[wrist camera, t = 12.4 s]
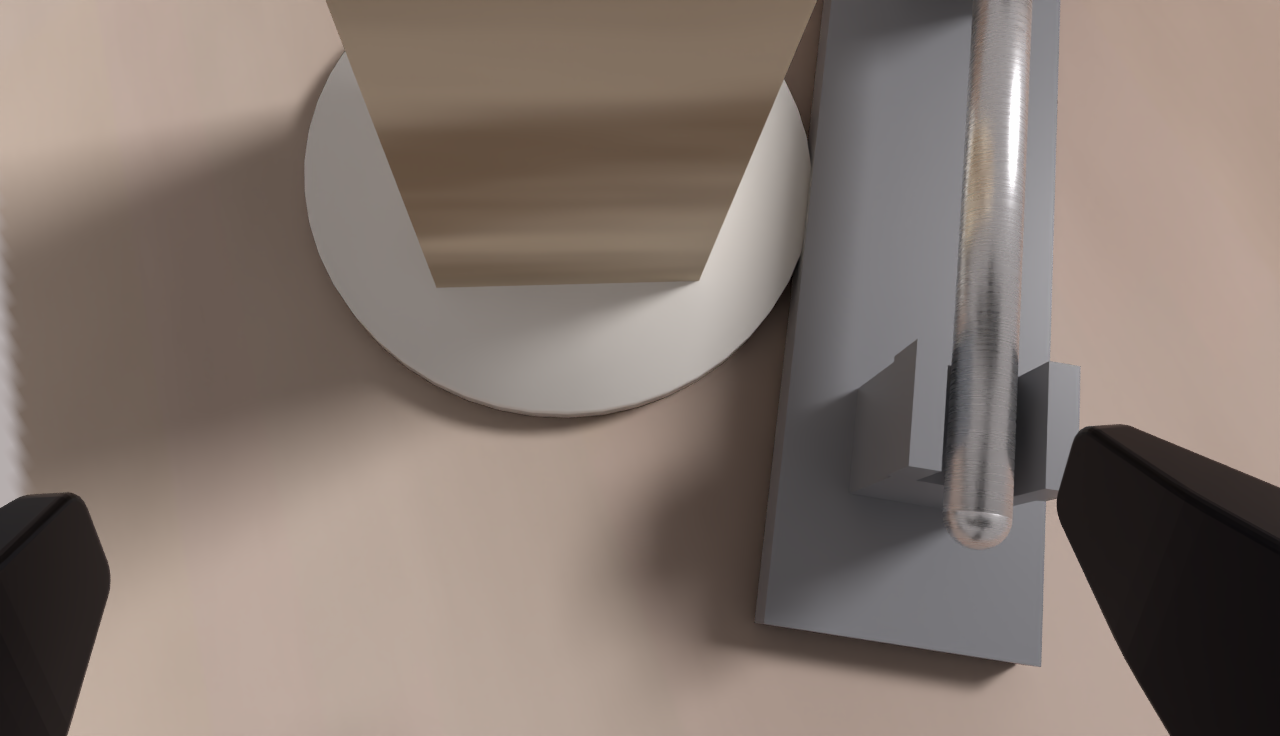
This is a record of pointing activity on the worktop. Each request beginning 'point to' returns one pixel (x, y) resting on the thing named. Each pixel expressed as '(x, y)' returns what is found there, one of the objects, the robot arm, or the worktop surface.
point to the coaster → (548, 314)
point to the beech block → (568, 127)
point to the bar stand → (906, 350)
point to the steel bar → (989, 279)
